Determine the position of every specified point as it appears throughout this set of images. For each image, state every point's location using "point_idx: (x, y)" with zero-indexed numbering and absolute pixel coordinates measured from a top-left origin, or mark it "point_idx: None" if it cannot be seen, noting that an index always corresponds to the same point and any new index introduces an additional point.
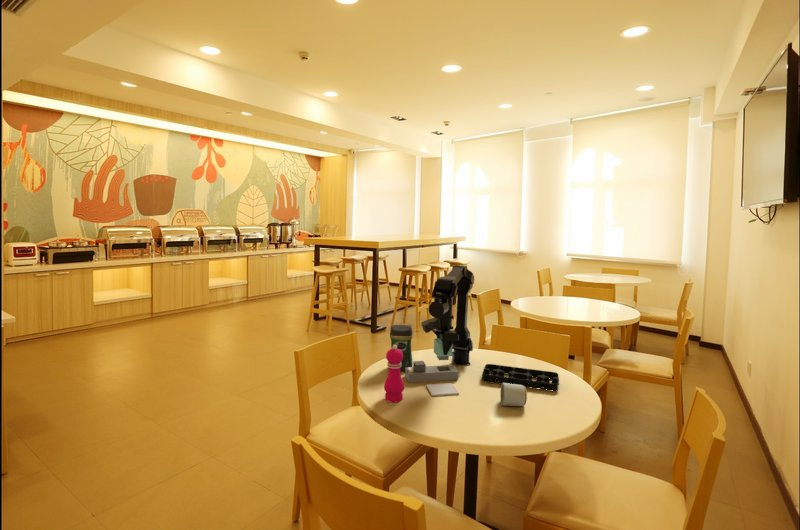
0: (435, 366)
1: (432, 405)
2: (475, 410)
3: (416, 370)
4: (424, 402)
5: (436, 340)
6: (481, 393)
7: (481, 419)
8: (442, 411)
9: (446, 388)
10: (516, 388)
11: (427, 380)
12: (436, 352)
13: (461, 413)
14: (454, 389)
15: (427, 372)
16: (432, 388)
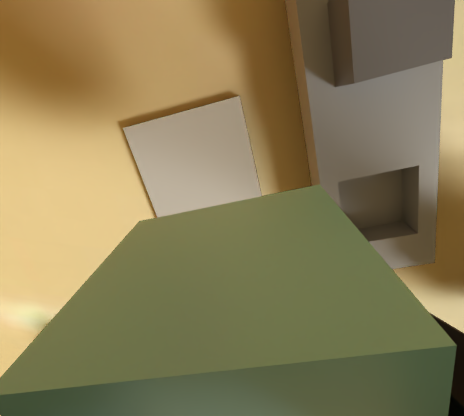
0: (425, 160)
1: (41, 126)
2: (59, 275)
3: (332, 6)
4: (56, 87)
5: (218, 384)
6: None
7: (7, 282)
8: (6, 166)
9: (204, 197)
10: None
11: (301, 103)
12: (185, 225)
13: (20, 231)
14: None
15: (321, 102)
16: (195, 130)
